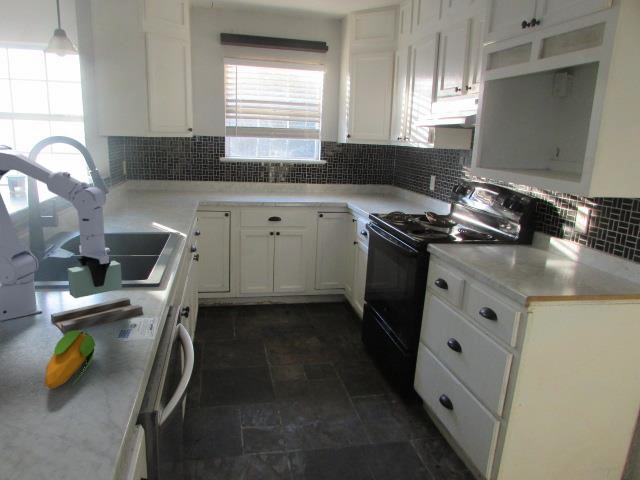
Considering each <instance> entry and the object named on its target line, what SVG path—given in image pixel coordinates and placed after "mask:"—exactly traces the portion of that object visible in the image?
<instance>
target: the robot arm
mask: <svg viewBox="0 0 640 480" xmlns="http://www.w3.org/2000/svg"><path fill="white" fill-rule="evenodd" d="M10 171H17V172H19V173H21V174H23V175H26V176H28V177H30V178H32V179H34V180H36V181H38V182H41V183H43V184H46V187H47V190H48V192H51V193H53V194H54V195H57V197H59V198H61V199H64V200H66V201H68V202H70V203H71V204H72V205H73V207H74V209H75V210H76V211H77V216H78V226H79V227H78V229H79V240H80V241H79V242H80V245H78V251H79V253H80V256H77V257H76V258H77V261H78V262H79V264H80V265H81V266H86V265H88V267H89V269H90V271H91V274H92V279H93V283H94V286H95V287H99V286H104V281H105V276H106V272H107V269H108V267H109V265H110V264H111V261H112V260H110V256H109V255H108V252H110V251H111V249H110V248H109V247H106V241H105V226H104V213H103V212H104V211H103V206H104V205H105V204H106V201H107V196H106V194H105V192H104V191H103V189H101V188H100V187H99V186H98V185H90V186H89V185H88V184H89V183H87V182H85V181H80V180H78V179H76V178H74V177H73V176H71V175H72V174H71V173H70V172H68V171H57V172H53V171H51V170H50V169H48V168H46V167H44V166H43V165H42V164H39V163H38V162H36V161H35V160H33V159H31V158H30V157H28V156H26V155H24V154H23V153H22V152H20V150H18V149H16V148H13V147H11V146H9V145H6V144H5V145H4V144H2V145H1V144H0V181H1V180H2V178H3V177H4V176H5V175H6V174H8V173H9V172H10ZM38 269H39V260H38V258H37V257H36V256H35V255H34V253H32V252H31V250H30V247H29V246H28V245H26V244H25V243H22V242H21V241H20V238H19V235H18V234H17V231H16V229H15V225H14V224H13V221H12V218H11V215H10V213H9V211H8V208H7V207H6V204H5V201H4V199H3V196H2V193H1V192H0V321H7V320H11V319H16V318H21V317H24V316H29V315H31V316H32V315H34V314H35V315H36V314H39V313H42V312H43V310H42V309H41V307H39V306H38V305H37V296H36V289H35V288H36V287H35V279H34V278H35V273H36V272H37V270H38Z"/></svg>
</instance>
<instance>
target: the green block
mask: <svg viewBox="0 0 640 480" xmlns="http://www.w3.org/2000/svg"><path fill="white" fill-rule="evenodd" d="M67 277H68V278H67V279H68V290H69V295H70V296H71V297H73V298H74V299H80V298H83V297H89V296H93V295H98V294H102V293H108V292H111V291H112V292H113V291H118V290H120V289H121V290H122V289H123V284H122V283H123V281H122V265H121V262H117V261H116V260H111V264H110V265H109V267H108V269H107V272H106V276H105V281H104V286H99V287H95V286H94V283H93V279H92V274H91V271H90V269H89V267H88V265H86V266H82V265H81V266H74V267H70V268H69V267H68V268H67Z"/></svg>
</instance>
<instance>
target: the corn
mask: <svg viewBox="0 0 640 480" xmlns="http://www.w3.org/2000/svg"><path fill="white" fill-rule="evenodd" d="M95 347H96V341H95V339H94V337H93V335H92V334H91V333H90V332H88V331H87V332H86V333H85V334H84V331H83V330H73V331H70V332H66V333H64V335H63V337H61V338H60V339H59V340H58V342H57V343H56V344H55V347H54V350H53V352H54V353H53V354H52V357H51V358H50V360H49V361H48V362H47V363H48V364H47V365H46V368H45V369H46V370H45V377H44V378H45V379H44V386H45V387H46V388H49V389H56V388H57V387H59V386H62V385H63V384H65V383H66V382H68V380H69V379H70V378H71V377H73V375H74V374H75V373H77V372H78V371H79V369H80V368H81V367H82V365H83V363H85V361H86V360H87V364H86V365H85V364H84V365H85V368H84V370H83V369H82V370H83V371H82V370H81V372H82V373H81V372H80V373H81V374H80V373H79V375H80V376H79V375H78V376H79V377H78V376H77V378H76V379H75V380H74V381H73V383H72V385H71V386H70V388H72V387H74V385H75V384H76V383H77V382H78V381H79V379H81V376H82V375H83V374H84V373H85V371H86V370H87V368H88V367H89V365H90V364H91V362H92V360H93V357H94V354H95Z"/></svg>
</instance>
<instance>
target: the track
mask: <svg viewBox="0 0 640 480" xmlns="http://www.w3.org/2000/svg"><path fill="white" fill-rule="evenodd" d="M143 313H144V311H143V306H142V305H140V304H137V305H133V304H132V303H131V299H130V298H129V297H122V298H118V299H113V300H110V301H108V300H107V301H105V302H100V303H95V304H91V305H87V306H81V307H78V308H74V309H69V310H64V311H60V312H56V313H51V314H50V318H51V319H50V321H51V322H52V323H53V324H54V325H55V326H56V327H57V328H59V329H60V330H61V331H62V332H63V333H64V334H66V333H68V332H70V331H73V330H74V331H79V330H82V329H85V328H89V327H90V328H91V327H93V326H97V325H101V324H105V323H110V322H113V321H117V320H120V319H124V318H128V317H132V316H137V315H139V314H141V315H142V314H143Z"/></svg>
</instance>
